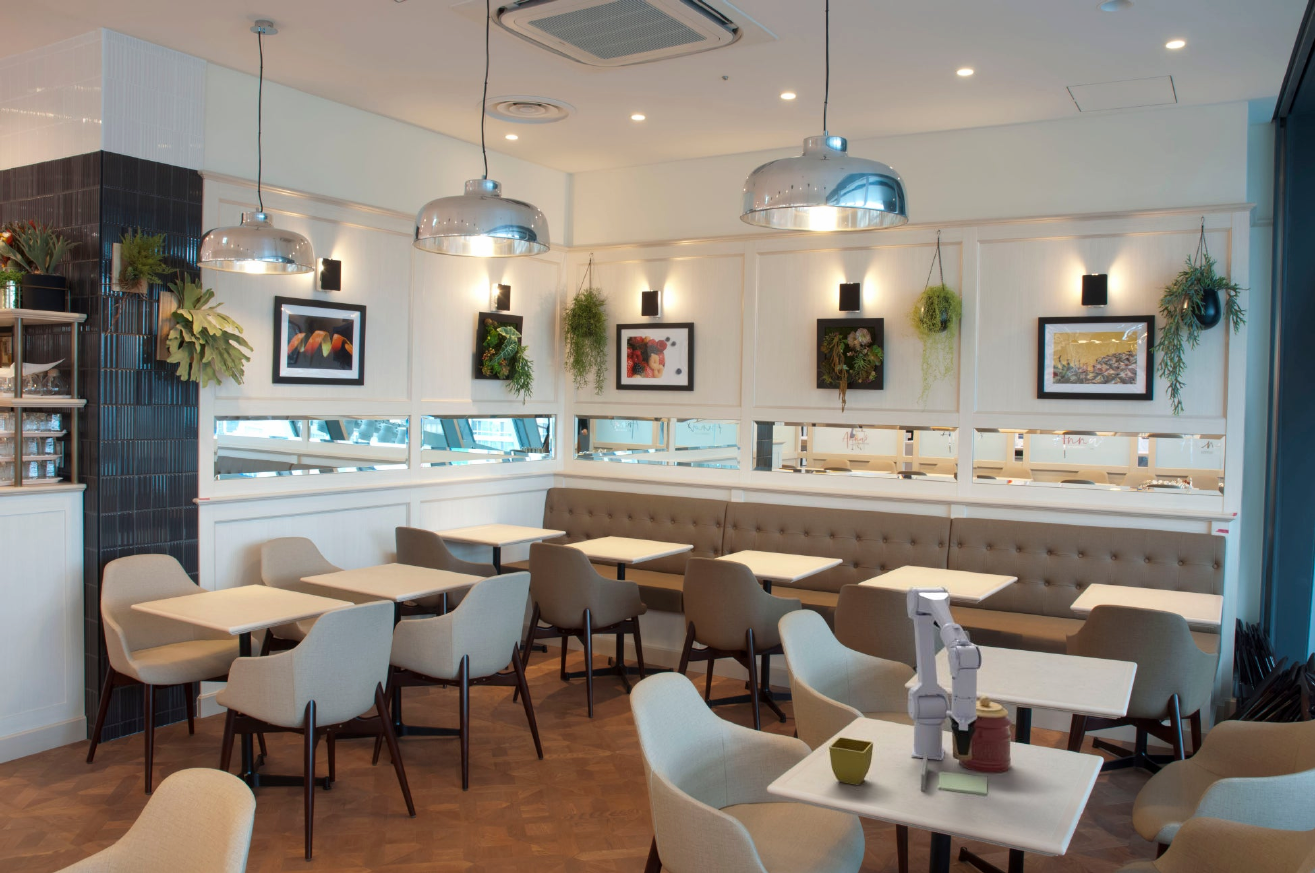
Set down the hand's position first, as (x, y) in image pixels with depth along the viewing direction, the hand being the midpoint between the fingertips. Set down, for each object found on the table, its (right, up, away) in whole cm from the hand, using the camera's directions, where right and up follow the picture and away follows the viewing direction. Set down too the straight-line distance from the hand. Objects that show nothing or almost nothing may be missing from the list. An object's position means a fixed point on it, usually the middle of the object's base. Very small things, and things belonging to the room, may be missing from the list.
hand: (963, 751), depth 233 cm
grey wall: (-8, -8, +4) cm, 12 cm away
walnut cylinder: (0, -2, 0) cm, 2 cm away
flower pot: (-27, -8, +3) cm, 28 cm away
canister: (+10, -9, +15) cm, 20 cm away
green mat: (0, -8, +1) cm, 8 cm away
